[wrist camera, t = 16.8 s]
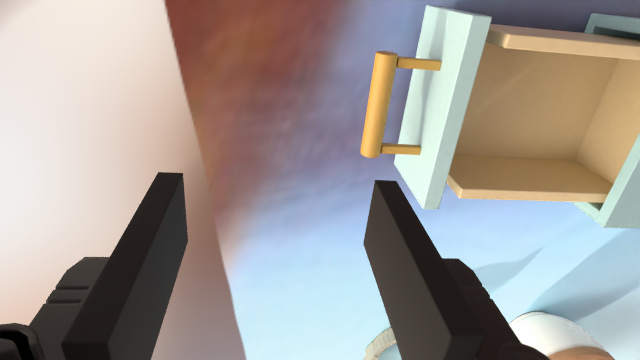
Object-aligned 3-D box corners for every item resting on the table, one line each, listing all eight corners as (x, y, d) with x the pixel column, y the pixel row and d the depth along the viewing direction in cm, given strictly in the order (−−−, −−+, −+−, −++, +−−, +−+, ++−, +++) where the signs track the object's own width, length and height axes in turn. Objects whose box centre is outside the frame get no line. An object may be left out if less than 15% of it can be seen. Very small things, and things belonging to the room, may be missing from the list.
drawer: (344, 161, 33) (362, 207, 27) (367, -2, 27) (397, 7, 21) (566, 170, 36) (631, 214, 29) (629, 25, 30) (727, 40, 24)
